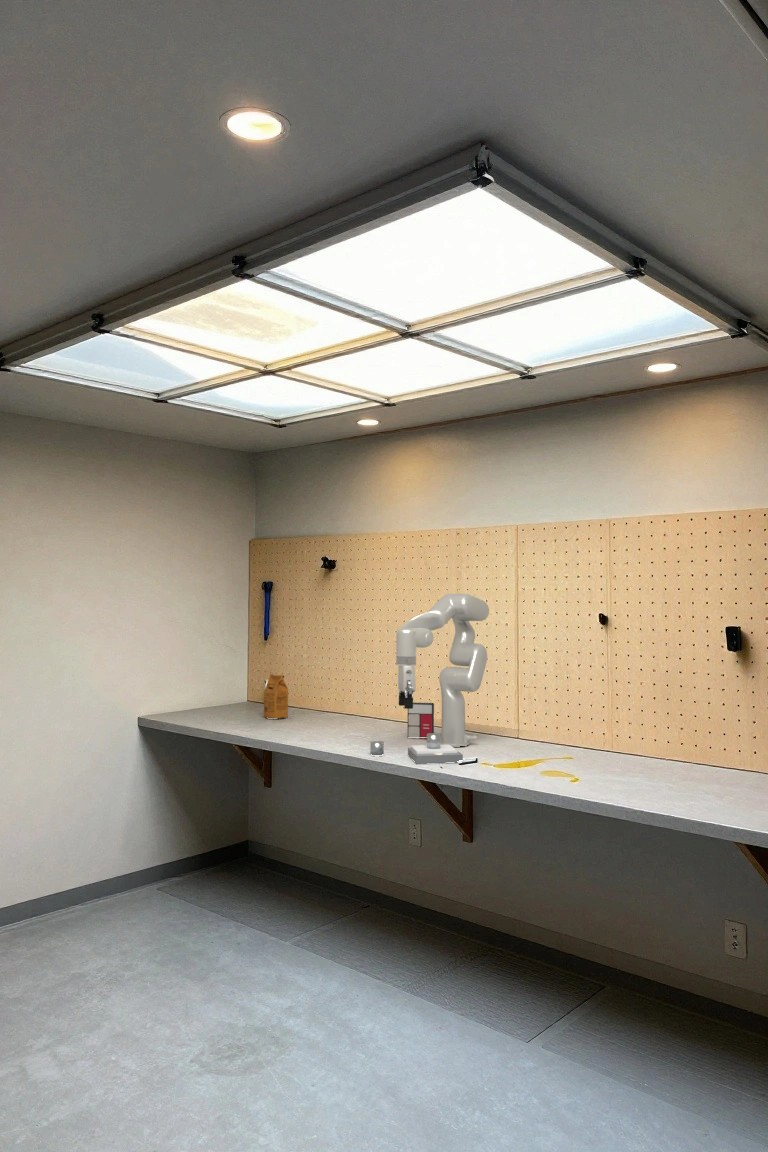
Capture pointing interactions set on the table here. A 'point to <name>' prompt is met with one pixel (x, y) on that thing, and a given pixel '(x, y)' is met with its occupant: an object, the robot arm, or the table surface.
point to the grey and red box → (421, 720)
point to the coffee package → (276, 697)
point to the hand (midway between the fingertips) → (405, 707)
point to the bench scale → (434, 754)
